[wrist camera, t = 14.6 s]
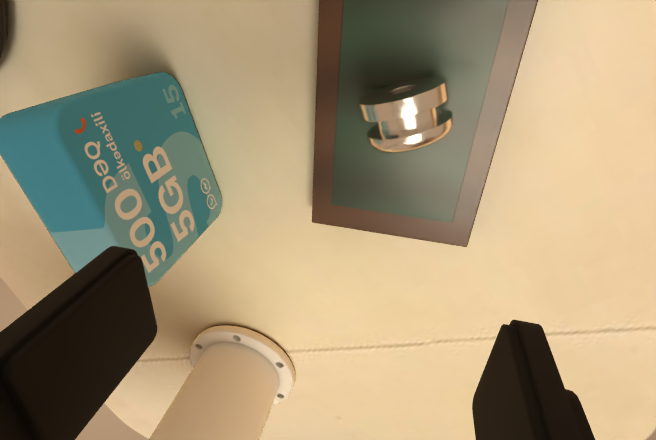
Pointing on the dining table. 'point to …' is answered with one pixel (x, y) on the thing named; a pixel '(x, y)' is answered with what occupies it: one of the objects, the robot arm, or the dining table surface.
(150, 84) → the data package
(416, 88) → the metal grooved wheel
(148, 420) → the dining table surface
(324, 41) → the desk pad
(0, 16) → the candelabra
